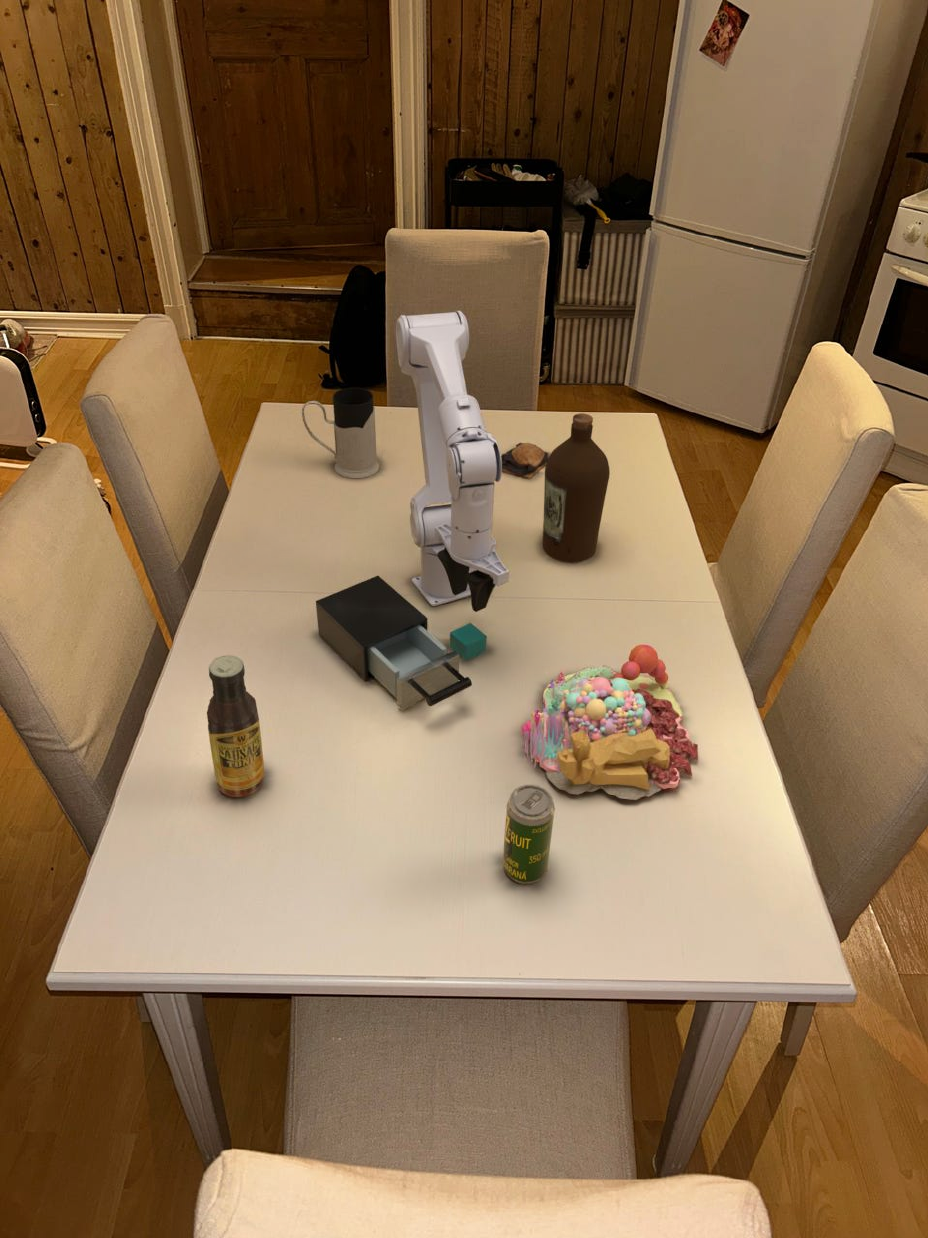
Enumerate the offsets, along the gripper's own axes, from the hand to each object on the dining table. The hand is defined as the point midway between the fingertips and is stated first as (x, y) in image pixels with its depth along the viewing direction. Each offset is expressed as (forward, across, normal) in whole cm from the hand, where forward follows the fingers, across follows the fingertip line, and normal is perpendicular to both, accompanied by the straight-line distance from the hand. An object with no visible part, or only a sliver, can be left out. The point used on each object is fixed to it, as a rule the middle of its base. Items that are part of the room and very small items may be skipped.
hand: (469, 600), depth 140 cm
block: (+9, 0, 0) cm, 9 cm away
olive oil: (+10, +11, -31) cm, 34 cm away
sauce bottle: (+10, -4, +40) cm, 41 cm away
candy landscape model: (+10, -26, -4) cm, 28 cm away
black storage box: (+9, +10, +11) cm, 17 cm away
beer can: (+10, -36, +19) cm, 42 cm away
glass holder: (+10, +58, -14) cm, 60 cm away
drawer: (+9, -2, +11) cm, 14 cm away
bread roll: (+10, +38, -44) cm, 59 cm away
